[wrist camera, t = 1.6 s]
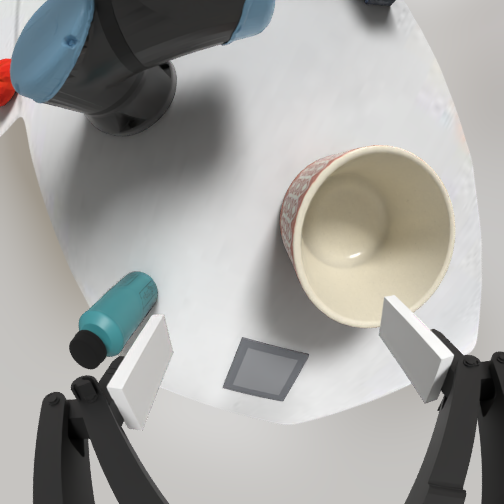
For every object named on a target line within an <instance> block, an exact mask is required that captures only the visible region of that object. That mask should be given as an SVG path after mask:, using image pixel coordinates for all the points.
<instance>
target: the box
mask: <svg viewBox="0 0 504 504" xmlns="http://www.w3.org/2000/svg"><path fill="white" fill-rule="evenodd" d="M364 1H365V3H366V4H373V5H387V6H391V5H392V4H393V3H394V2H395V0H364Z"/></svg>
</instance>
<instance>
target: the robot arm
mask: <svg viewBox="0 0 504 504" xmlns="http://www.w3.org/2000/svg"><path fill="white" fill-rule="evenodd" d="M274 6H275V0H47V1H46V2H45V3H44V4H43V5H42V6H41V7H40V8H39V9H38V10H37V11H36V12H35V13H34V15H33V16H32V17H31V19H30V20H29V21H28V23H27V24H26V26H25V27H24V29H23V31H22V33H21V35H20V37H19V38H18V41H17V43H16V45H15V48H14V51H13V54H12V58H11V64H10V78H11V83H12V85H13V87H14V89H15V90H16V92H18V93H19V94H20V95H22V96H25V97H28V98H31V99H33V100H34V101H35V102H37V103H45V104H49V105H53V106H57V107H61V108H65V109H69V110H73V111H76V112H80V113H84V115H85V116H86V117H87V118H88V120H89V121H90V122H91V123H92V124H93V125H94V126H95V127H96V128H97V129H99V130H100V131H102V132H105V133H108V134H112V135H117V136H127V135H133V134H136V133H139V132H141V131H143V130H145V129H147V128H148V127H150V126H151V125H153V124H154V123H155V122H156V121H157V120H158V119H159V118H160V117H161V116H162V115H163V114H164V113H165V111H166V110H167V109H168V107H169V105H170V103H171V102H172V99H173V97H174V94H175V90H176V84H177V77H176V71H175V68H174V66H173V64H172V62H171V61H170V60H173V59H176V58H179V57H181V56H184V55H187V54H190V53H193V52H196V51H200V50H203V49H206V48H210V47H213V46H217V45H220V44H221V45H227V44H230V43H231V42H233V41H235V40H239V39H243V38H246V37H250V36H254V35H257V34H259V33H261V32H262V31H263V30H264V29H265V28H266V27H267V26H268V24H269V23H270V21H271V18H272V15H273V12H274ZM379 336H380V337H381V339H382V340H383V342H384V343H385V345H386V346H387V347H388V349H389V350H390V352H391V353H392V355H393V356H394V358H395V359H396V361H397V362H398V363H399V365H400V366H401V368H402V369H403V371H404V372H405V374H406V375H407V377H408V378H409V380H410V381H411V383H412V384H413V386H414V388H415V389H416V391H417V392H418V394H419V395H420V397H421V398H422V400H423V402H424V403H428V402H431V401H434V400H437V398H438V396H439V394H440V391H442V392H443V394H444V397H443V400H442V402H441V404H440V406H439V408H438V411H439V410H440V411H439V415H438V418H437V422H436V425H435V428H434V432H433V435H432V438H431V441H430V444H429V447H428V450H427V453H426V455H425V458H424V461H423V463H422V466H421V468H420V471H419V473H418V476H417V478H416V480H415V483H414V485H413V487H412V489H411V491H410V493H409V496H408V498H407V500H406V502H405V504H464V501H465V497H466V491H465V490H463V485H464V481H465V478H466V474H467V470H468V466H469V462H470V458H471V453H472V448H473V443H474V437H475V432H476V424H477V418H478V425H479V433H480V443H481V457H482V504H504V352H495V353H494V354H493V355H492V358H491V360H490V361H485V362H480V360H479V359H478V358H476V357H475V356H472V355H463V354H462V353H461V352H460V351H459V350H458V349H457V348H456V347H455V346H454V345H453V344H452V343H450V341H449V340H448V339H446V337H445V336H444V335H443V334H442V333H441V332H439V331H437V330H435V329H431V330H430V329H429V328H428V327H427V326H426V325H425V324H424V323H423V322H422V321H421V320H420V319H419V318H418V317H417V316H416V315H415V314H414V313H413V312H412V311H411V310H410V309H409V308H408V307H407V306H405V305H404V304H403V303H402V302H401V301H400V300H399V299H398V298H397V297H396V296H395V295H392V296H385V297H384V301H383V309H382V317H381V324H380V331H379ZM172 355H173V348H172V345H171V341H170V337H169V333H168V329H167V325H166V321H165V316H164V314H163V315H152V316H151V317H150V319H149V320H148V322H147V324H146V325H145V327H144V328H143V330H142V331H141V333H140V334H139V336H138V337H137V339H136V340H135V342H134V344H133V345H132V347H131V348H130V350H129V351H128V353H127V355H126V356H125V357H124V356H119V357H118V358H116V359H115V360H114V361H113V362H112V363H111V364H110V366H109V368H108V369H107V370H106V372H105V374H104V375H103V377H102V378H101V380H100V381H99V383H98V382H97V380H96V379H95V378H94V377H92V376H87V375H86V376H81V377H79V378H77V379H76V380H75V381H73V383H72V385H71V390H72V392H73V394H74V395H75V397H76V399H75V400H66V398H65V396H64V395H63V394H62V393H60V392H53V393H50V394H48V395H47V396H46V397H45V398H44V400H43V402H42V407H41V412H40V418H39V425H38V432H37V440H36V449H35V460H34V477H33V504H95V501H94V495H93V488H92V480H91V471H90V461H89V447H88V439H90V440H91V442H92V445H93V448H94V450H95V452H96V455H97V458H98V460H99V463H100V465H101V467H102V469H103V472H104V474H105V476H106V478H107V480H108V482H109V485H110V487H111V489H112V491H113V493H114V495H115V497H116V499H117V501H118V502H119V504H169V503H168V502H167V500H166V499H165V498H164V496H163V495H162V493H161V492H160V490H159V489H158V488H157V486H156V485H155V483H154V482H153V480H152V479H151V477H150V476H149V474H148V472H147V471H146V469H145V468H144V466H143V464H142V463H141V461H140V459H139V458H138V456H137V454H136V452H135V451H134V449H133V447H132V446H131V444H130V442H129V440H128V438H127V436H126V434H125V432H124V431H123V429H122V427H121V426H122V424H123V422H125V423H126V425H127V427H128V428H129V429H136V430H143V428H144V426H145V423H146V420H147V418H148V415H149V412H150V410H151V407H152V405H153V402H154V399H155V397H156V394H157V392H158V389H159V387H160V384H161V382H162V379H163V377H164V374H165V372H166V369H167V367H168V364H169V362H170V360H171V357H172Z"/></svg>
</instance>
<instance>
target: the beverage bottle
mask: <svg viewBox="0 0 504 504" xmlns="http://www.w3.org/2000/svg"><path fill="white" fill-rule="evenodd" d="M123 277H124V276H123ZM123 277H122V278H123ZM157 293H158V292H157V287H156V284H155V282H154V281H153V279H152V278H151V277H150V276H148V275H147V274H145V273H142V272H136V271H134V272H132V273H130V272H129V274H127V275H126V276H125V277H124V278H123V279H122V280H120V281H119V282H118V283H117V284H116V285H115V286H114V287H112V288H111V289H109V290H108V292H107V293H106V294H105V295H103V296H102V298H101V297H100V298H101V299H99V300H98V301H97V302H96V303H95V304H94V305H93V306H92V307H91V308H90V309H89V310H88V311H86V312H85V313H84V314H82V316H81V317H80V320H79V332H78V333H77V334H76V335H75V337H74V338H73V340H72V341H71V342H70V345H69V349H70V353H71V355H72V357H73V358H74V360H75V361H76V362H77V363H78V364H79V365H81V366H82V367H84V368H87V369H95V368H96V367H98V366H99V364H100V363H102V362H103V361H104V359H105V358H106V356H107V357H110V356H111V357H112V356H115V355H118V354H119V353H120V352H121V351H122V349H123V347H124V345H125V344H126V342H127V341H128V340H129V338H130V337H131V335H132V334H133V332H134V331H135V330H136V329H137V327H138V326H139V324H140V323H142V322H143V321H142V320H143V319H144V317H146V316H147V314H148V313H149V312H148V311H150V310H151V308H152V307H153V305H154V304H155V303H156V302H155V301H156V299H157V298H158V297H157Z"/></svg>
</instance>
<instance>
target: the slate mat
mask: <svg viewBox="0 0 504 504" xmlns="http://www.w3.org/2000/svg"><path fill="white" fill-rule="evenodd" d="M308 357H309V354H306V353H301V352H297V351H293V350H289V349H285V348H281V347H277V346H273V345H269V344H265V343H262V342H258V341H254V340H251V339H247V338H243V337H242V339H241V342H240V345H239V347H238V350H237V352H236V355H235V357H234V360H233V362H232V365H231V367H230V370H229V373H228V375H227V378H226V380H225V383H224V385H223V388H226V389H230V390H233V391H237V392H241V393H246V394H250V395H254V396H259V397H263V398H268V399H273V400H278V401H284V399H285V397H286V396H287V394H288V392H289V391H290V389H291V387H292V385H293V384H294V382H295V380H296V378H297V377H298V375H299V373H300V371H301V369H302V368H303V366H304V364H305V362H306V360H307V358H308Z"/></svg>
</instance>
